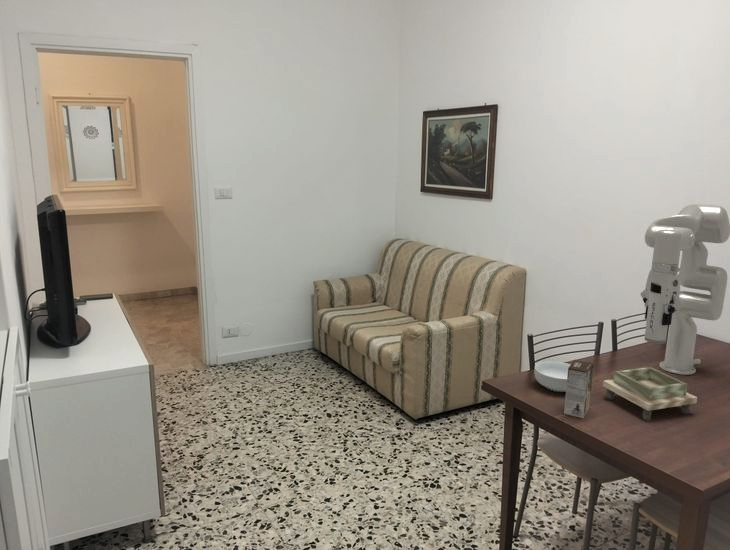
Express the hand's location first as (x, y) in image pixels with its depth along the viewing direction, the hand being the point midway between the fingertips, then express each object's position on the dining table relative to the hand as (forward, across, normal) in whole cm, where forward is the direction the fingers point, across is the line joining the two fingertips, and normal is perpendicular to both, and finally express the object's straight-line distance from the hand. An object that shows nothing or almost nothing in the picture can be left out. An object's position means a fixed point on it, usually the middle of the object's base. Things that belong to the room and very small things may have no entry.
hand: (657, 321), depth 182 cm
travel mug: (+7, 0, 0) cm, 7 cm away
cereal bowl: (+30, +21, +20) cm, 42 cm away
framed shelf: (+30, 0, 0) cm, 30 cm away
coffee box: (+30, +3, +26) cm, 40 cm away
